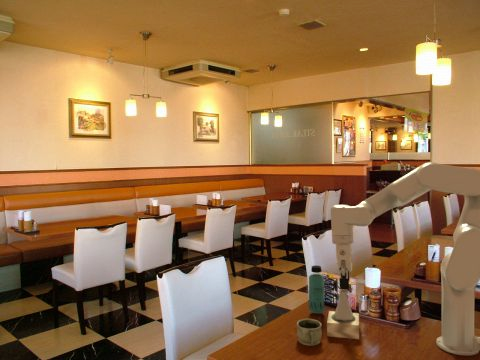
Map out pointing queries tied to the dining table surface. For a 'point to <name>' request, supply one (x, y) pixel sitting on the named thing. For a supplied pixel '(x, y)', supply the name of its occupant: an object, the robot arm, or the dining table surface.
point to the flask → (343, 307)
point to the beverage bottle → (316, 291)
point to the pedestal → (343, 326)
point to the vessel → (309, 331)
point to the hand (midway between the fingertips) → (344, 284)
